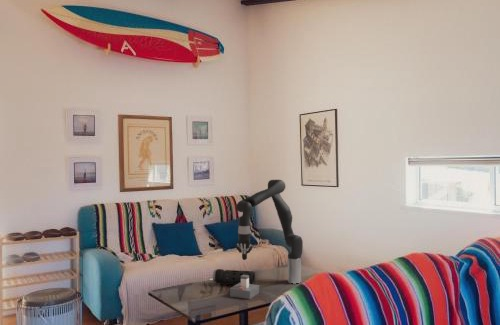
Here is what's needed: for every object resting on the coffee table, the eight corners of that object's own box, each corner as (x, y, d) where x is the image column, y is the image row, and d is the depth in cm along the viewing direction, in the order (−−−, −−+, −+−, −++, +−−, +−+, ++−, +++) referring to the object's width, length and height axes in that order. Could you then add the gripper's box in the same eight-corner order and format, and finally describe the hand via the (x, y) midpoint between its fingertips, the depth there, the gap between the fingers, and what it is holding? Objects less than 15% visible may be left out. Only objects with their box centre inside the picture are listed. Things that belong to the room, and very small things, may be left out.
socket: (239, 290, 288) (239, 281, 288) (259, 292, 282) (259, 283, 282) (229, 296, 275) (229, 287, 275) (249, 299, 269) (249, 289, 269)
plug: (243, 291, 281) (243, 274, 281) (249, 292, 279) (249, 275, 279) (240, 293, 277) (240, 276, 277) (246, 294, 276) (246, 276, 275)
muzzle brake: (252, 288, 292) (252, 272, 292) (212, 285, 298) (212, 270, 298) (255, 284, 301) (255, 269, 301) (216, 282, 307) (216, 267, 307)
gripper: (256, 232, 278) (256, 259, 279) (237, 231, 284) (237, 257, 284) (251, 234, 272) (251, 261, 272) (232, 232, 277) (232, 259, 277)
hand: (244, 259), depth 278 cm, fingers closed
